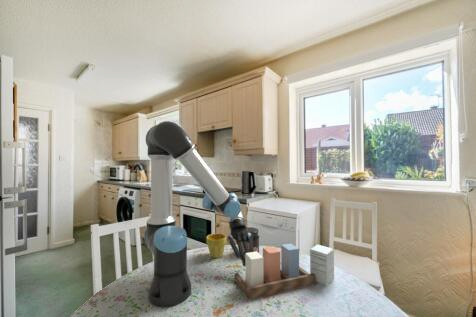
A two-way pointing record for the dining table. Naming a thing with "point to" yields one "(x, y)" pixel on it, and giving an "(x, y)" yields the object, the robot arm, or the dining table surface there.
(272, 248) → the pink rectangular block
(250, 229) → the supplement container
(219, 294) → the dining table surface
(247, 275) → the ivory key
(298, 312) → the dining table surface
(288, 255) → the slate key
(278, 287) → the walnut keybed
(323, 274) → the supplement box
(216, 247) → the plant pot
